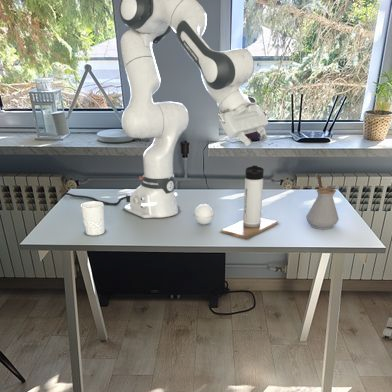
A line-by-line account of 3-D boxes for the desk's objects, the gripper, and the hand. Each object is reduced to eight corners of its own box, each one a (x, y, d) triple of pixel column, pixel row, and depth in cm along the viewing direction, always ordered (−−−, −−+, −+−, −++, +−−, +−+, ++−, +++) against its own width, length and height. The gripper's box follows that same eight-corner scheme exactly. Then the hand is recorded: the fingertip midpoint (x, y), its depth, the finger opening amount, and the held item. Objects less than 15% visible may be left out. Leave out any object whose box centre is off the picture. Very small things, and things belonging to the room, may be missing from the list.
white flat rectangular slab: (221, 232, 179) (221, 229, 178) (252, 217, 191) (253, 215, 191) (246, 239, 173) (246, 236, 172) (277, 223, 186) (277, 221, 185)
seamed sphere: (192, 221, 189) (192, 201, 185) (212, 220, 189) (212, 200, 185) (195, 230, 180) (195, 210, 176) (216, 229, 181) (216, 209, 177)
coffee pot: (340, 231, 179) (347, 188, 170) (308, 231, 179) (313, 188, 170) (327, 212, 196) (333, 172, 188) (298, 212, 197) (302, 172, 188)
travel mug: (260, 221, 185) (263, 165, 174) (260, 227, 179) (264, 170, 168) (243, 221, 185) (245, 165, 174) (242, 227, 180) (245, 169, 169)
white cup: (96, 237, 175) (92, 209, 170) (79, 233, 179) (75, 205, 173) (110, 230, 181) (108, 203, 175) (94, 227, 184) (91, 199, 179)
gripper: (221, 104, 157) (245, 141, 157) (257, 97, 170) (280, 131, 170) (210, 118, 162) (233, 154, 162) (246, 110, 175) (268, 143, 175)
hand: (257, 142), depth 166 cm, fingers open, 8 cm apart
